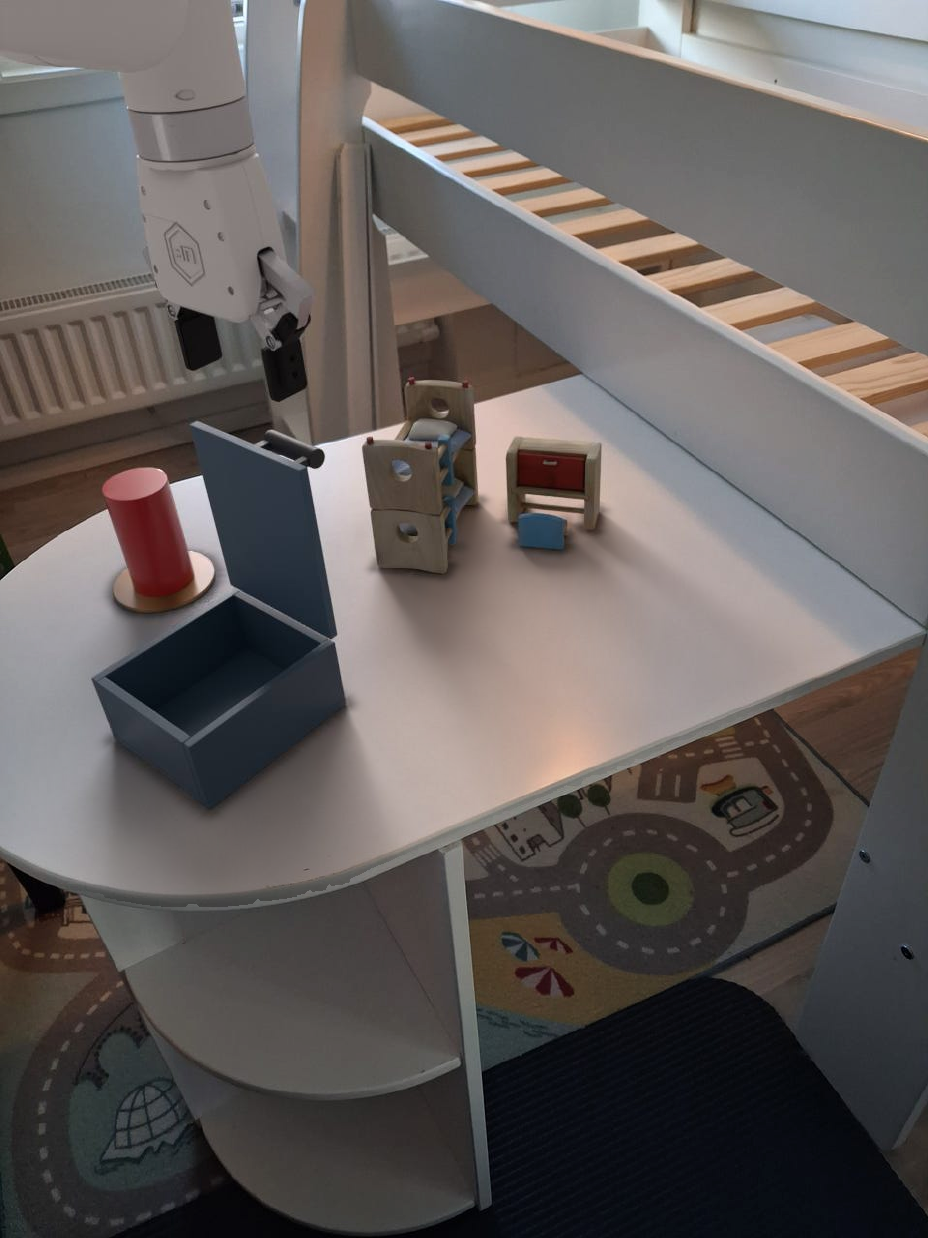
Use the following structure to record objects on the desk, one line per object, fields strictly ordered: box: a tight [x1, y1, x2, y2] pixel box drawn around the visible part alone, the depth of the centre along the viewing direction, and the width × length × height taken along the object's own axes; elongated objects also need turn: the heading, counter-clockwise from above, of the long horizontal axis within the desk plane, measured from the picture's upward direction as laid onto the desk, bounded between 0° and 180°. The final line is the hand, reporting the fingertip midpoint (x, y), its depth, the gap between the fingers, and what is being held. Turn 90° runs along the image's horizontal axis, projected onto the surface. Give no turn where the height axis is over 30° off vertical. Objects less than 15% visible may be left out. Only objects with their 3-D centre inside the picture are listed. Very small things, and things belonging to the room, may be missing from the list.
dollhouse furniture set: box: [361, 376, 603, 575], centre depth 97 cm, size 14×20×14 cm
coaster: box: [112, 550, 216, 614], centre depth 99 cm, size 10×10×1 cm
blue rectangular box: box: [90, 587, 347, 811], centre depth 81 cm, size 15×13×7 cm
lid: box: [189, 420, 338, 641], centre depth 79 cm, size 15×13×5 cm
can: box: [101, 467, 194, 597], centre depth 95 cm, size 6×6×11 cm
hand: (245, 378), depth 75 cm, fingers open, 9 cm apart
